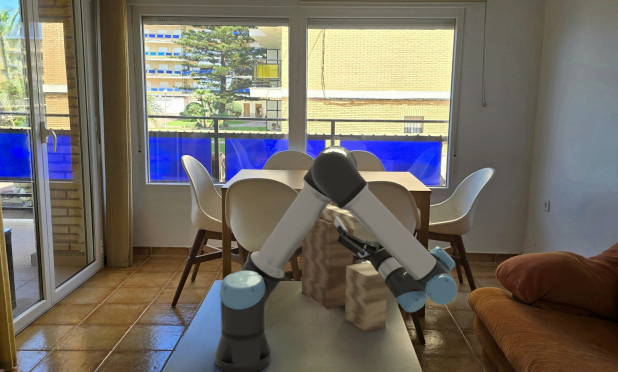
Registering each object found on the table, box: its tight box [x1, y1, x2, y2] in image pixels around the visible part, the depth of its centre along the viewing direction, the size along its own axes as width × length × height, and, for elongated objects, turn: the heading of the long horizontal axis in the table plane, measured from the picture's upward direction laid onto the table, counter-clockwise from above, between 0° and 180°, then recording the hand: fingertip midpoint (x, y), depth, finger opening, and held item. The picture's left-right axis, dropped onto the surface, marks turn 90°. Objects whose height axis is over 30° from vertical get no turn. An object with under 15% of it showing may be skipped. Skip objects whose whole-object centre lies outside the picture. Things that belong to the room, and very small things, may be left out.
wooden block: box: [320, 203, 365, 231], centre depth 163 cm, size 26×4×4 cm, turn 31°
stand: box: [301, 217, 354, 310], centre depth 171 cm, size 18×10×30 cm, turn 31°
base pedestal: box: [344, 262, 388, 333], centre depth 152 cm, size 11×8×18 cm
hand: (353, 217), depth 156 cm, fingers open, 13 cm apart
